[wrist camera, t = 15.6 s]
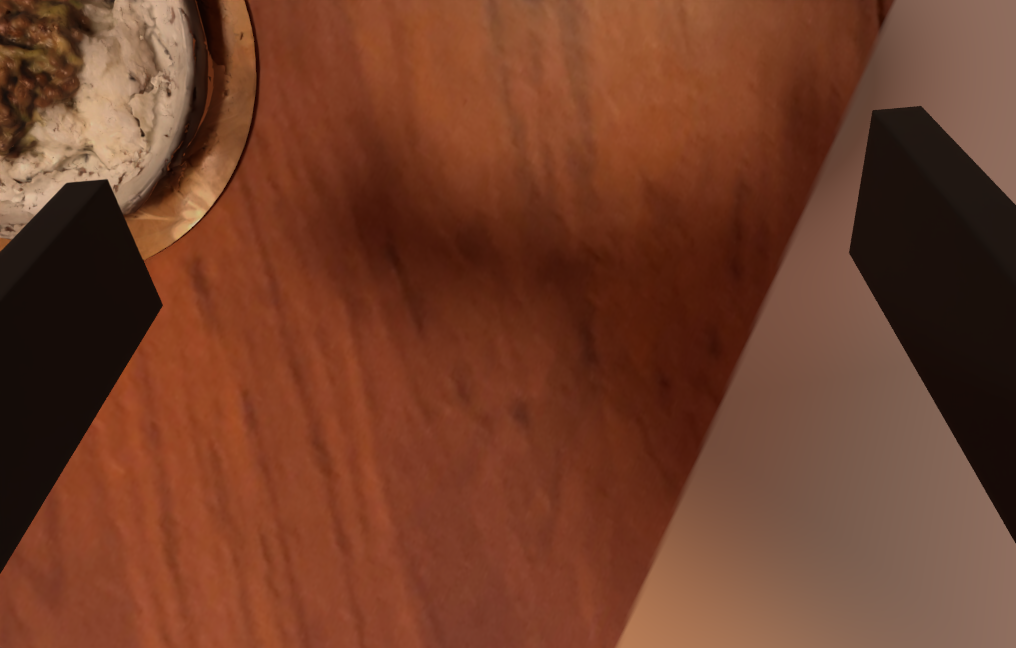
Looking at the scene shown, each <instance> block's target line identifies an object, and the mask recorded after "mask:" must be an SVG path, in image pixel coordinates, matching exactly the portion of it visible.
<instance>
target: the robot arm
mask: <svg viewBox="0 0 1016 648" xmlns="http://www.w3.org/2000/svg"><path fill="white" fill-rule="evenodd" d="M849 253H850V255H851V257H852V259H853V261H854V262H855V264H856V266H857V268H858V269H859V271H860V273H861V274H862V276H863V278H864V280H865V281H866V283H867V285H868V287H869V288H870V290H871V292H872V294H873V295H874V297H875V299H876V301H877V302H878V304H879V306H880V308H881V309H882V311H883V313H884V315H885V316H886V318H887V319H888V322H889V323H890V325H891V327H892V329H893V330H894V332H895V334H896V336H897V337H898V339H899V341H900V343H901V344H902V346H903V348H904V349H905V351H906V353H907V354H908V356H909V358H910V360H911V362H912V363H913V365H914V367H915V369H916V370H917V372H918V374H919V376H920V377H921V379H922V381H923V382H924V384H925V386H926V388H927V390H928V391H929V393H930V395H931V397H932V398H933V400H934V402H935V404H936V405H937V407H938V409H939V410H940V412H941V414H942V416H943V417H944V419H945V421H946V423H947V424H948V426H949V428H950V430H951V431H952V433H953V435H954V437H955V438H956V440H957V442H958V444H959V445H960V447H961V449H962V451H963V452H964V454H965V456H966V458H967V459H968V461H969V463H970V464H971V466H972V468H973V470H974V471H975V473H976V475H977V477H978V479H979V480H980V482H981V484H982V485H983V487H984V489H985V491H986V493H987V494H988V496H989V498H990V499H991V501H992V503H993V505H994V506H995V508H996V510H997V512H998V513H999V515H1000V517H1001V519H1002V520H1003V522H1004V524H1005V526H1006V527H1007V529H1008V531H1009V533H1010V534H1011V536H1012V538H1013V539H1014V541H1015V543H1016V205H1015V204H1014V203H1013V202H1012V201H1011V200H1010V199H1009V198H1008V197H1007V196H1006V194H1005V193H1004V192H1002V190H1001V189H1000V188H999V187H998V186H997V185H996V184H995V183H994V182H993V181H992V180H991V179H990V178H989V177H988V176H987V175H986V174H985V173H984V172H983V170H982V169H981V168H980V167H979V166H978V165H977V164H976V163H975V162H974V161H973V160H972V159H971V158H970V157H969V156H968V155H967V154H966V153H965V152H964V151H963V150H962V149H961V147H960V146H959V145H958V144H957V143H956V142H955V141H954V140H953V139H952V138H951V137H950V136H949V135H948V134H947V133H946V132H945V131H944V130H943V129H942V128H941V127H940V125H939V124H938V123H937V122H936V121H935V120H934V119H933V118H932V117H931V116H930V115H929V114H928V113H927V112H926V111H925V110H924V109H923V108H922V107H921V106H917V107H907V108H894V109H883V110H873V111H872V117H871V123H870V129H869V136H868V142H867V148H866V154H865V160H864V166H863V172H862V178H861V184H860V190H859V197H858V202H857V209H856V215H855V221H854V226H853V233H852V238H851V245H850V251H849ZM162 306H163V304H162V302H161V300H160V297H159V295H158V293H157V291H156V288H155V286H154V284H153V282H152V279H151V277H150V275H149V272H148V270H147V268H146V266H145V263H144V261H143V259H142V256H141V254H140V252H139V250H138V247H137V245H136V243H135V240H134V238H133V236H132V234H131V231H130V229H129V227H128V225H127V222H126V220H125V218H124V215H123V213H122V211H121V209H120V206H119V204H118V202H117V199H116V197H115V195H114V193H113V190H112V188H111V186H110V184H109V181H108V179H103V180H92V181H81V182H70V183H66V184H65V185H64V186H63V187H62V188H61V189H60V190H59V191H58V192H57V193H56V194H55V195H54V196H53V197H52V198H51V199H50V200H49V201H48V202H47V204H46V205H45V206H44V207H43V208H42V209H41V210H40V211H39V212H38V213H37V214H36V215H35V216H34V217H33V218H32V219H31V220H30V221H29V222H28V223H27V224H26V225H25V226H24V228H23V229H22V230H21V231H20V232H19V233H18V234H17V235H16V236H15V237H14V238H13V239H12V240H11V241H10V242H9V243H8V244H7V245H6V246H5V247H4V248H3V249H2V250H1V252H0V573H1V572H2V570H3V568H4V567H5V565H6V563H7V562H8V560H9V558H10V557H11V555H12V554H13V552H14V550H15V549H16V547H17V545H18V544H19V542H20V540H21V539H22V537H23V535H24V534H25V532H26V530H27V529H28V527H29V525H30V524H31V522H32V521H33V519H34V517H35V516H36V514H37V512H38V511H39V509H40V507H41V506H42V504H43V502H44V501H45V499H46V497H47V496H48V494H49V492H50V491H51V489H52V487H53V486H54V484H55V483H56V481H57V479H58V478H59V476H60V474H61V473H62V471H63V469H64V468H65V466H66V464H67V463H68V461H69V459H70V458H71V456H72V454H73V453H74V451H75V450H76V448H77V446H78V445H79V443H80V441H81V440H82V438H83V436H84V435H85V433H86V431H87V430H88V428H89V426H90V425H91V423H92V421H93V420H94V418H95V417H96V415H97V413H98V412H99V410H100V408H101V407H102V405H103V403H104V402H105V400H106V398H107V397H108V395H109V393H110V392H111V390H112V388H113V387H114V385H115V384H116V382H117V380H118V379H119V377H120V375H121V374H122V372H123V370H124V369H125V367H126V365H127V364H128V362H129V360H130V359H131V357H132V355H133V354H134V352H135V351H136V349H137V347H138V346H139V344H140V342H141V341H142V339H143V337H144V336H145V334H146V332H147V331H148V329H149V327H150V326H151V324H152V322H153V321H154V319H155V318H156V316H157V314H158V313H159V311H160V309H161V308H162Z"/></svg>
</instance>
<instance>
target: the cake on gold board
mask: <svg viewBox="0 0 1016 648" xmlns="http://www.w3.org/2000/svg"><path fill="white" fill-rule="evenodd" d="M255 62H256V58H255V49H254V37H253V33H252V27H251V24H250V19H249V15H248V12H247V8H246V5H245V1H244V0H0V252H1V250H2V249H3V248H4V247H5V246H6V245H7V244H8V243H9V242H10V241H11V240H12V239H13V238H14V237H15V236H16V235H17V234H18V233H19V232H20V231H21V230H22V229H23V228H24V226H25V225H26V224H27V223H28V222H29V221H30V220H31V219H32V218H33V217H34V216H35V215H36V214H37V213H38V212H39V211H40V210H41V209H42V208H43V207H44V206H45V205H46V204H47V202H48V201H49V200H50V199H51V198H52V197H53V196H54V195H55V194H56V193H57V192H58V191H59V190H60V189H61V188H62V187H63V186H64V185H65V184H66V183H70V182H81V181H92V180H103V179H108V181H109V184H110V186H111V188H112V190H113V193H114V195H115V197H116V199H117V202H118V204H119V206H120V209H121V211H122V213H123V215H124V218H125V220H126V222H127V225H128V227H129V229H130V231H131V234H132V236H133V238H134V240H135V243H136V245H137V247H138V250H139V252H140V254H141V256H142V259H143V260H145V259H147V258H149V257H151V256H153V255H154V254H156V253H158V252H160V251H161V250H163V249H164V248H166V247H168V246H169V245H170V244H172V243H173V242H175V241H176V240H177V239H179V238H180V237H181V236H182V235H184V234H185V233H186V232H187V231H189V230H190V229H191V228H192V227H193V226H194V225H195V224H196V223H197V222H198V221H199V220H200V219H201V218H202V217H203V216H204V214H205V213H206V212H207V211H208V210H209V209H210V207H211V206H212V205H213V203H214V202H215V201H216V199H217V198H218V197H219V195H220V194H221V192H222V191H223V189H224V188H225V186H226V184H227V182H228V180H229V179H230V177H231V175H232V173H233V171H234V169H235V167H236V165H237V163H238V160H239V158H240V155H241V153H242V151H243V148H244V146H245V142H246V139H247V135H248V132H249V127H250V123H251V119H252V113H253V106H254V100H255V94H256V65H255Z"/></svg>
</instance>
